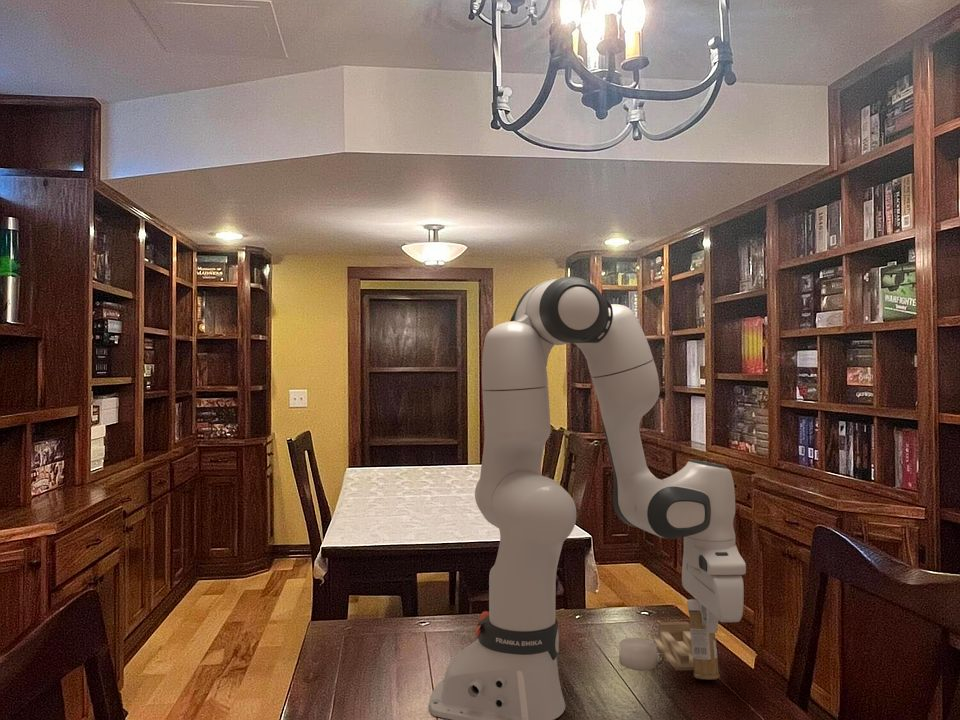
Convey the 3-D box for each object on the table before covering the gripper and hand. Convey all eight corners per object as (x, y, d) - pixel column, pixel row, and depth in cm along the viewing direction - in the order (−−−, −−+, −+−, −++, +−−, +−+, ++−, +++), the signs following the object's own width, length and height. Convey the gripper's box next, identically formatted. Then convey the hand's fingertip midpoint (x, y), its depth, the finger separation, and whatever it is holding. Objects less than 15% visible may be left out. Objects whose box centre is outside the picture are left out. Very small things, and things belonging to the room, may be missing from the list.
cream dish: (619, 669, 134) (619, 650, 134) (619, 654, 141) (619, 636, 141) (657, 672, 133) (657, 653, 133) (655, 657, 140) (655, 639, 140)
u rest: (718, 669, 134) (718, 647, 134) (675, 670, 134) (675, 648, 134) (692, 641, 148) (692, 621, 148) (653, 641, 148) (653, 622, 148)
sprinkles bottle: (725, 678, 128) (717, 599, 132) (708, 680, 126) (701, 599, 130) (704, 675, 132) (698, 598, 136) (687, 677, 130) (681, 599, 133)
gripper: (673, 538, 138) (673, 610, 138) (712, 567, 118) (713, 652, 117) (705, 537, 138) (706, 610, 138) (750, 567, 118) (751, 652, 118)
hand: (709, 630), depth 128 cm, fingers closed
